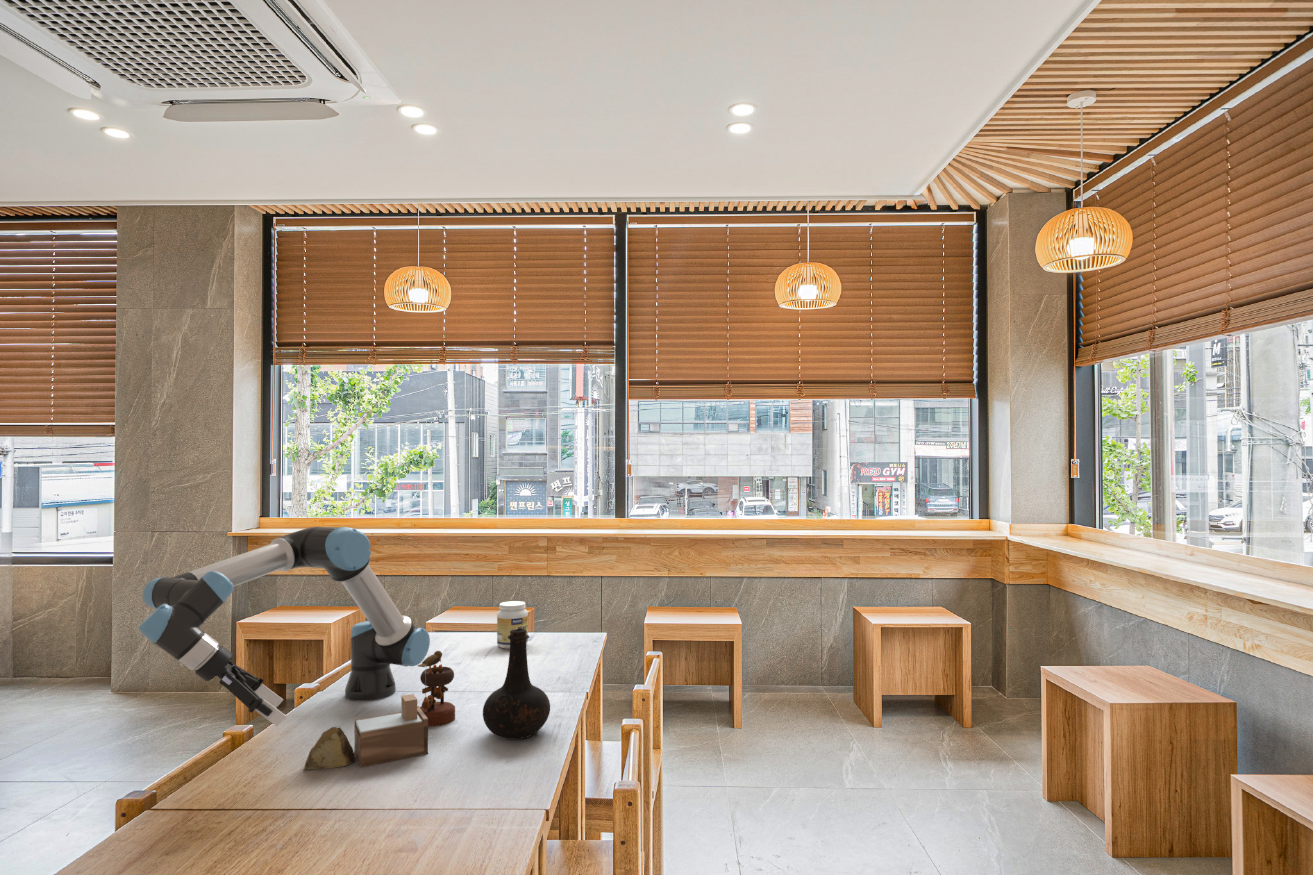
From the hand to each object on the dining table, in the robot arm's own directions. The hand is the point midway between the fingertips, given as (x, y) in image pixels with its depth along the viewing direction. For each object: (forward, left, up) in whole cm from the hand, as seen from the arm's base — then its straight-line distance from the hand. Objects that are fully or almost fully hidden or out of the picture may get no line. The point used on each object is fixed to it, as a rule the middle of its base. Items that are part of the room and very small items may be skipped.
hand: (280, 712), depth 174 cm
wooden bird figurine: (-19, +41, -15) cm, 48 cm away
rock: (0, +11, -15) cm, 18 cm away
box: (0, +25, -15) cm, 29 cm away
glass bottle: (+4, +57, -15) cm, 59 cm away
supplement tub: (-89, +87, -15) cm, 125 cm away
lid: (0, +25, -7) cm, 26 cm away
